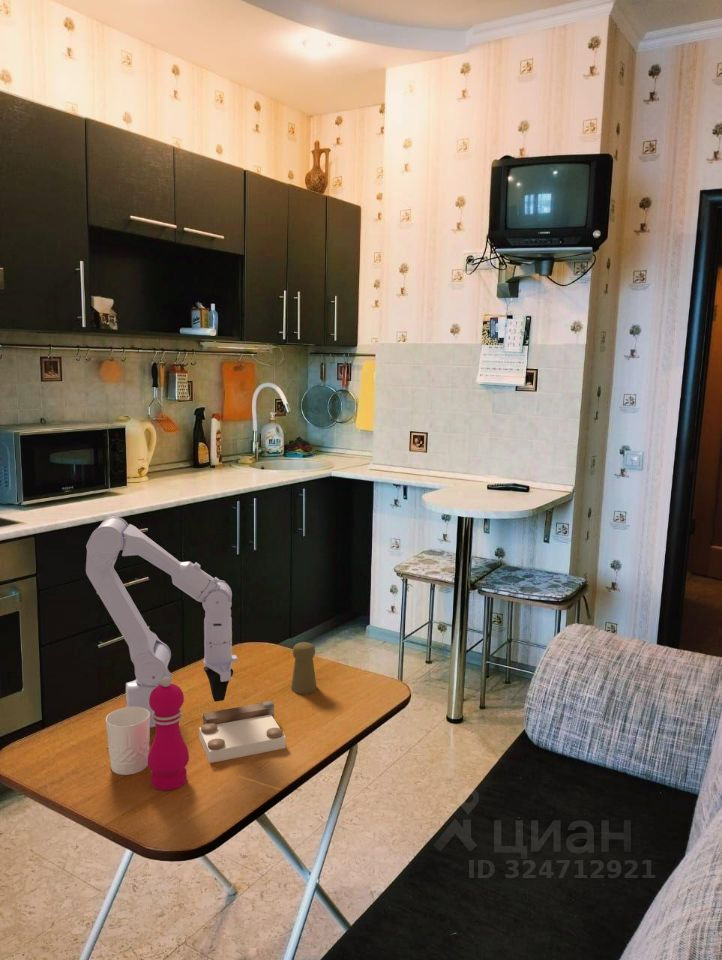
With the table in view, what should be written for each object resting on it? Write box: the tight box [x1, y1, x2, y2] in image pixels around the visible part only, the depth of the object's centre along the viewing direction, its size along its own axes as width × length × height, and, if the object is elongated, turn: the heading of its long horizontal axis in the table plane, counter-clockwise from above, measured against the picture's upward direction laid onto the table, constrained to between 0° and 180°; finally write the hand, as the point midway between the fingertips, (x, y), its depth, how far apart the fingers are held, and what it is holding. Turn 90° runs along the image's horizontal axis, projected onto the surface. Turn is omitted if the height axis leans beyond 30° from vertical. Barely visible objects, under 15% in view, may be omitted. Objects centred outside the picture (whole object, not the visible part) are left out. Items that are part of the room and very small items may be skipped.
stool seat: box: [198, 715, 287, 764], centre depth 148 cm, size 15×10×3 cm, turn 113°
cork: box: [290, 641, 318, 695], centre depth 173 cm, size 6×6×11 cm
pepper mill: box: [147, 677, 190, 791], centre depth 134 cm, size 7×7×20 cm
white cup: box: [105, 706, 151, 776], centre depth 139 cm, size 8×8×10 cm
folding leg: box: [202, 700, 275, 725], centre depth 155 cm, size 15×3×4 cm, turn 114°
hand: (218, 699), depth 160 cm, fingers closed
